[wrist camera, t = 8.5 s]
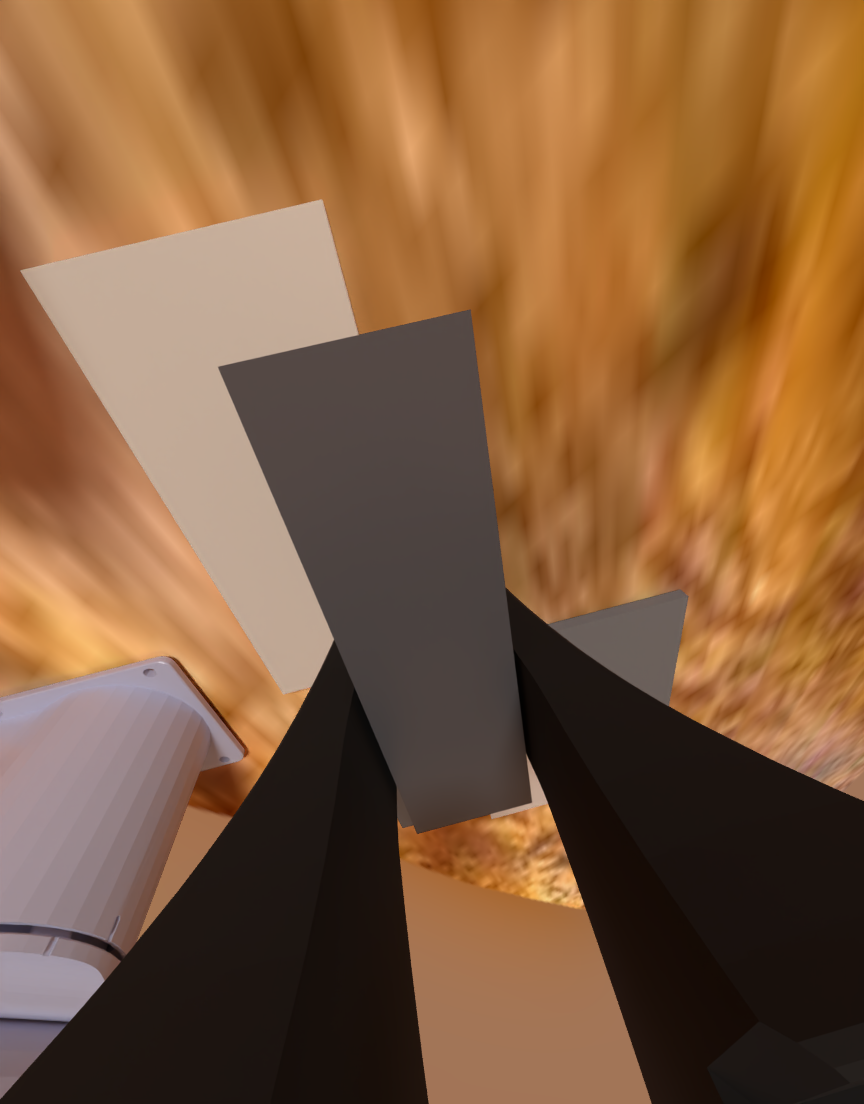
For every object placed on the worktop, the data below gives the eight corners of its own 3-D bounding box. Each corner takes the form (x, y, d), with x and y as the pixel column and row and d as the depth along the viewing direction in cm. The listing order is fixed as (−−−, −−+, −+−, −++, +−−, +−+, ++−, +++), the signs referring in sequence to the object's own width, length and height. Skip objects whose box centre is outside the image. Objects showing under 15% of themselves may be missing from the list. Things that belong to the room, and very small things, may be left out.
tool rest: (286, 678, 20) (283, 694, 19) (47, 275, 11) (19, 270, 10) (439, 638, 20) (443, 652, 19) (325, 209, 11) (322, 199, 10)
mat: (401, 819, 28) (402, 827, 27) (332, 681, 20) (331, 690, 20) (653, 750, 28) (659, 757, 28) (680, 589, 21) (688, 596, 20)
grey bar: (402, 754, 16) (419, 951, 11) (252, 365, 9) (86, 396, 4) (517, 724, 16) (588, 903, 11) (462, 318, 9) (592, 281, 4)
